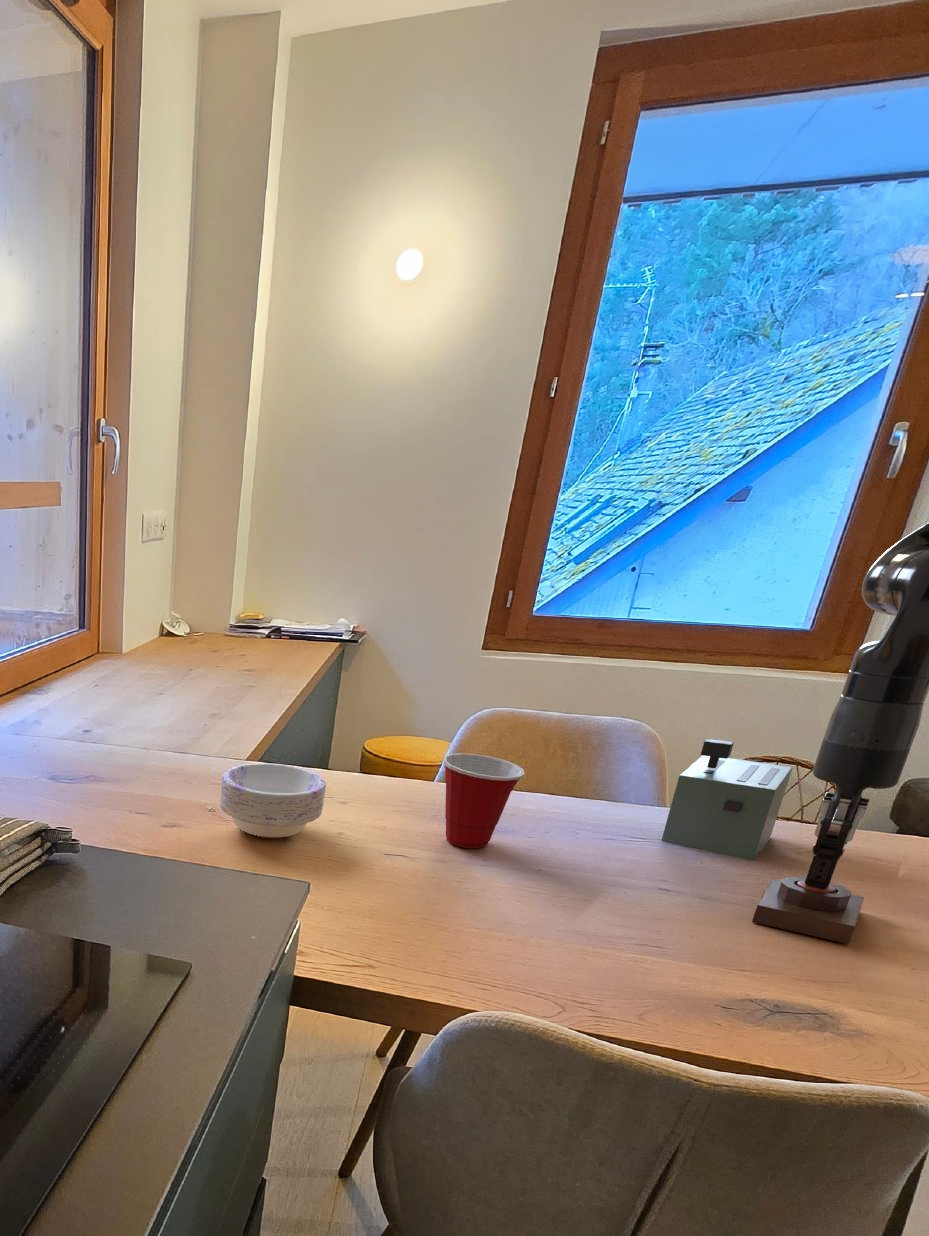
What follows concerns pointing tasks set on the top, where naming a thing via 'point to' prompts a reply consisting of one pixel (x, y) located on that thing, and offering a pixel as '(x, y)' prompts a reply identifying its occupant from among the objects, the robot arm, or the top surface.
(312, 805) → the paper bowls
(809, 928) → the box
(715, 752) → the toaster slider
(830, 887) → the button
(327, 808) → the top surface
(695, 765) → the toaster
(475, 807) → the plastic cup
